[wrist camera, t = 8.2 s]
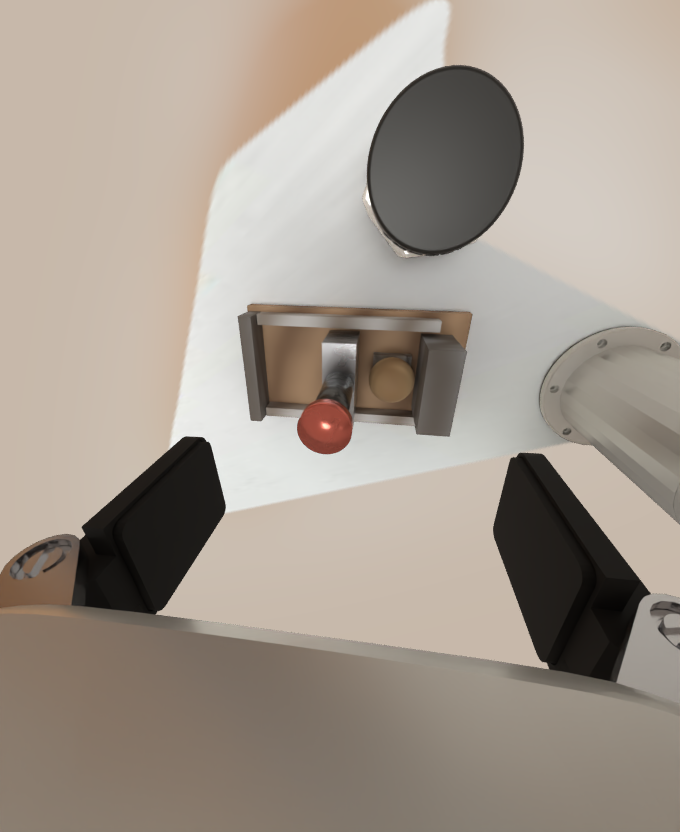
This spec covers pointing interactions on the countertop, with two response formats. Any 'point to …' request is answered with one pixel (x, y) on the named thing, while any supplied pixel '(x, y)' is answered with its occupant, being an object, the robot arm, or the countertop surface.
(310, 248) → the countertop surface
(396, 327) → the press base
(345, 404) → the handle
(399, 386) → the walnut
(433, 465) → the countertop surface
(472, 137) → the jar
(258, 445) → the countertop surface
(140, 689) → the robot arm
